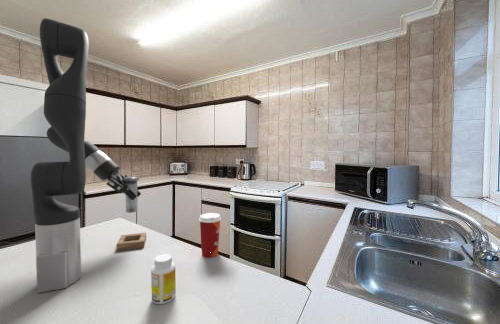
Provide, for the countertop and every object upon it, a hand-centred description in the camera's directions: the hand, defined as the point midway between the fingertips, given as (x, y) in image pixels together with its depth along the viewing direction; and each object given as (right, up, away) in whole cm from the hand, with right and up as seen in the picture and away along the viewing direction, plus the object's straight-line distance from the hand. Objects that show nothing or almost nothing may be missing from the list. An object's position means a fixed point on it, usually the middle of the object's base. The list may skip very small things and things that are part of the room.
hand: (137, 196), depth 83 cm
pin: (-2, -6, 0) cm, 6 cm away
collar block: (-2, -19, 0) cm, 19 cm away
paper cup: (+30, -20, -7) cm, 36 cm away
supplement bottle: (+22, -21, -30) cm, 43 cm away
